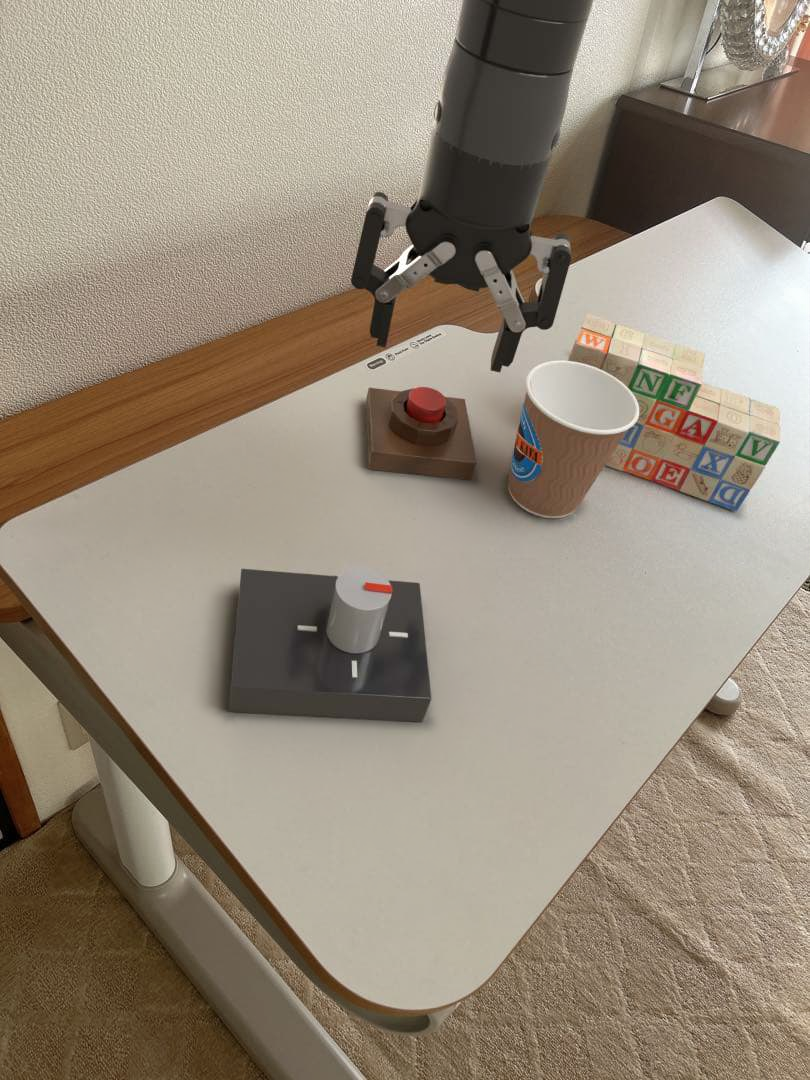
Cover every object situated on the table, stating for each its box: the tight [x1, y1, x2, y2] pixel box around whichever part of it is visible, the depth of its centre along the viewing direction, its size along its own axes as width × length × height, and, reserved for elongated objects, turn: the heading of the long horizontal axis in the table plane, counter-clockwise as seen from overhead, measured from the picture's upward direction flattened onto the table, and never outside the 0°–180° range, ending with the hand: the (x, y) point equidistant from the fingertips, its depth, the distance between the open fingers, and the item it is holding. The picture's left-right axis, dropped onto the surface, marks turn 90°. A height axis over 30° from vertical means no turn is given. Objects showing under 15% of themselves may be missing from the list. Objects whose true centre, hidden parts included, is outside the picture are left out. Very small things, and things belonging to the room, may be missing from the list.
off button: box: [406, 386, 446, 424], centre depth 85 cm, size 4×4×2 cm
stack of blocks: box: [567, 313, 781, 512], centre depth 88 cm, size 21×6×12 cm, turn 71°
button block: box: [364, 387, 478, 481], centre depth 86 cm, size 10×10×4 cm
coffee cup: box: [508, 360, 639, 519], centre depth 81 cm, size 10×10×12 cm
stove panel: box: [228, 568, 432, 723], centre depth 66 cm, size 14×11×3 cm
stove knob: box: [326, 566, 392, 653], centre depth 64 cm, size 4×4×5 cm
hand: (438, 353), depth 65 cm, fingers open, 8 cm apart
